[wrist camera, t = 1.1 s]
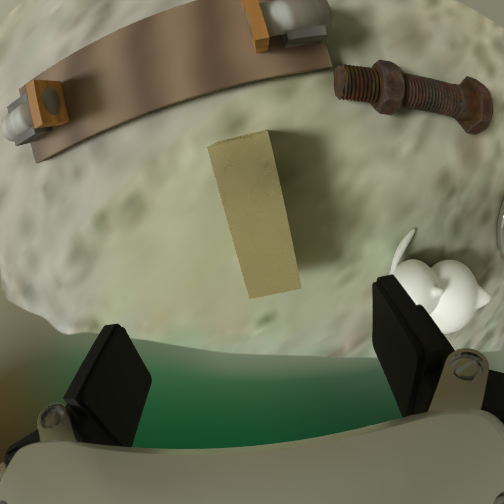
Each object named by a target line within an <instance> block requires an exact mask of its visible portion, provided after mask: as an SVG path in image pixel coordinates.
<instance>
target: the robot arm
mask: <svg viewBox="0 0 504 504" xmlns="http://www.w3.org/2000/svg"><path fill="white" fill-rule="evenodd" d="M497 240H498V247H499V249H500V252H501V254H502V256H503V257H504V200H503V203H502V206H501V209H500V213H499V218H498V226H497ZM372 291H373V332H372V342H373V347H374V350H375V352H376V354H377V357H378V359H379V361H380V363H381V366H382V368H383V370H384V373H385V375H386V377H387V380H388V382H389V385H390V387H391V390H392V392H393V395H394V397H395V400H396V402H397V405H398V407H399V410H400V412H401V415H402V417H403V418H400V419H395V420H391V421H388V422H384V423H380V424H377V425H373V426H368V427H364V428H360V429H355V430H351V431H347V432H342V433H337V434H332V435H327V436H322V437H316V438H311V439H305V440H299V441H292V442H285V443H278V444H269V445H260V446H249V447H237V448H221V449H149V448H132V444H133V441H134V438H135V434H136V431H137V428H138V424H139V421H140V418H141V414H142V411H143V408H144V405H145V402H146V398H147V395H148V392H149V389H150V386H151V381H152V379H151V375H150V373H149V371H148V370H147V368H146V366H145V364H144V363H143V361H142V359H141V357H140V356H139V354H138V352H137V350H136V348H135V347H134V345H133V343H132V341H131V339H130V337H129V335H128V334H127V332H126V330H125V328H124V327H121V326H120V325H119V324H111V325H105V326H104V327H103V329H102V330H101V332H100V334H99V335H98V337H97V339H96V340H95V342H94V344H93V345H92V347H91V349H90V351H89V352H88V354H87V356H86V358H85V360H84V361H83V363H82V365H81V366H80V368H79V370H78V372H77V374H76V375H75V377H74V379H73V381H72V383H71V385H70V387H69V388H68V390H67V392H66V394H65V396H64V398H63V399H64V400H65V401H66V403H67V405H66V407H65V406H64V405H63V404H60V403H55V404H51V405H49V406H47V407H46V408H45V409H44V410H43V411H42V412H41V413H40V415H39V417H38V420H37V421H38V422H37V425H38V429H37V430H36V431H34V432H33V433H31V434H29V435H27V436H26V437H24V438H22V439H21V440H19V441H18V442H16V443H14V444H13V445H11V446H10V447H9V448H8V449H7V452H6V454H5V464H4V463H3V462H2V463H1V464H0V504H504V373H500V372H497V371H492V370H489V363H488V361H487V359H486V357H485V356H484V355H483V354H482V353H480V352H479V351H477V350H474V349H469V348H463V349H458V350H456V351H455V350H454V349H453V347H452V346H451V344H450V343H449V341H448V340H447V339H446V337H445V336H444V334H443V333H442V331H441V330H440V329H439V327H438V326H437V324H436V323H435V322H434V320H433V319H432V318H431V316H430V315H429V313H428V312H427V311H426V309H425V308H424V307H423V306H422V305H420V304H418V305H416V304H415V302H414V301H413V300H412V298H411V297H410V296H409V294H408V293H407V292H406V290H405V289H404V288H403V286H402V285H401V284H400V282H399V281H398V280H397V278H396V277H395V276H394V275H393V274H391V275H386V276H382V277H378V278H377V282H374V283H373V285H372Z"/></svg>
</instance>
